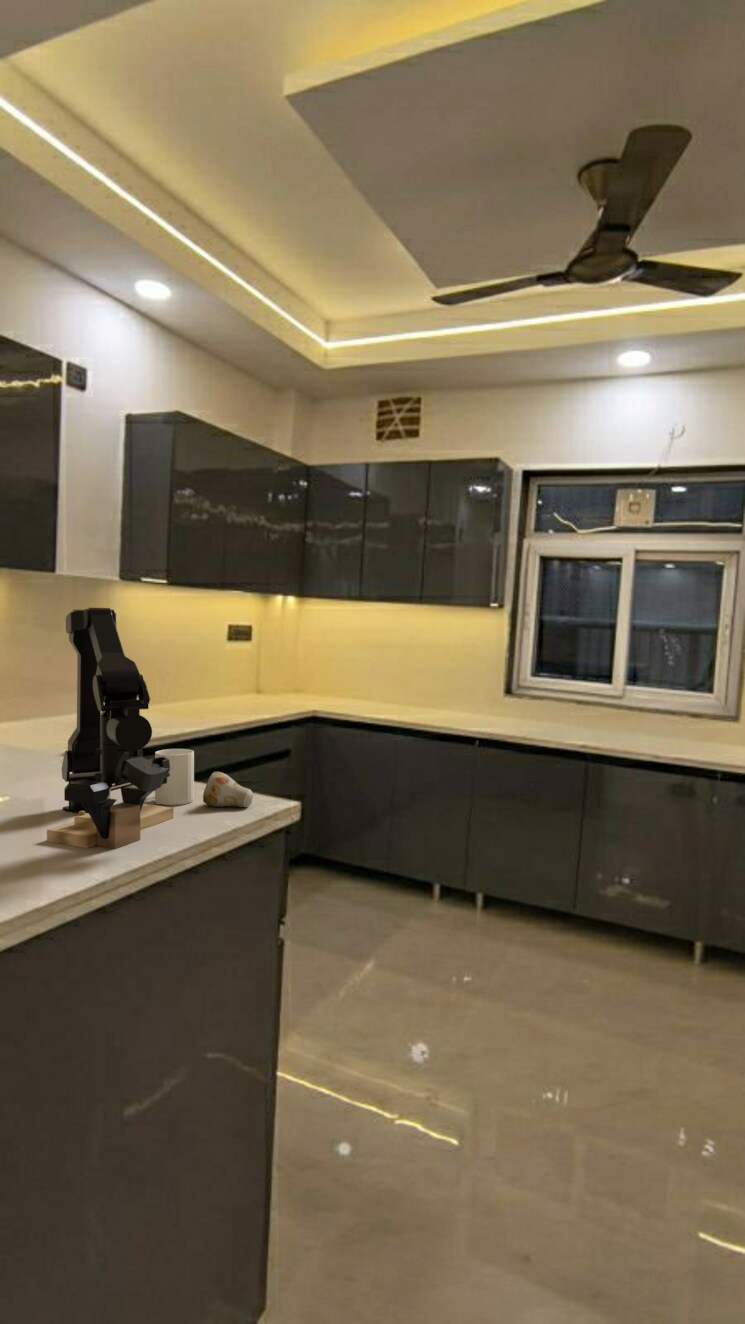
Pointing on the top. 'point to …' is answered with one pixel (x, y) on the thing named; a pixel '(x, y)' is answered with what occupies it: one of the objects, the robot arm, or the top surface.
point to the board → (89, 836)
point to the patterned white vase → (226, 792)
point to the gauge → (115, 825)
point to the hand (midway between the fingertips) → (118, 833)
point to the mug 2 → (177, 778)
